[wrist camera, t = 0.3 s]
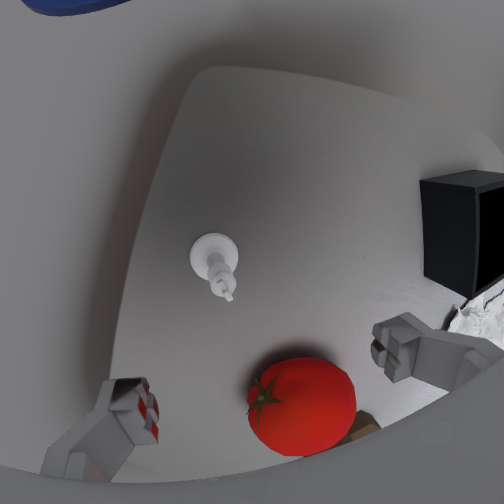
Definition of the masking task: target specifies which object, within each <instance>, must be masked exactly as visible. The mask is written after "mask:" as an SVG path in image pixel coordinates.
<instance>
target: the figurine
mask: <svg viewBox="0 0 504 504" xmlns="http://www.w3.org/2000/svg"><path fill="white" fill-rule="evenodd" d="M485 292H486V291H485ZM485 292H483V293H482V294H480V295H479V296H477V297H476V298H474V299H473V300H470V301H469V303H467V304H466V306H465V307H464V308H463V310H460V308H459V306H458V312H457V313H456V315H455V317H454V318H453V320H452V322H451V323H450V326H449V328H448V329H447V330H446V331H449V332H454V333H459V334H464V335H469V336H475V337H480V338H486V339H488V340H489V341H491V342H492V343H494V344H495V345H496V346H498V347H499V348H501V349H502V350H504V305H503V303H504V291H503V293H502V295H500V296H497V298H496V297H495V298H494V300H492V301H490V302H488V304H487V306H486V308H485V310H484V308H483V297H484V294H485ZM502 305H503V306H502Z"/></svg>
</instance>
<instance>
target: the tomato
mask: <svg viewBox="0 0 504 504" xmlns="http://www.w3.org/2000/svg"><path fill="white" fill-rule="evenodd" d="M253 378H254V381H255V383H256V386H254V387H252V388H250V389H249V392H248V398H247V402H248V404H249V410H250V411H249V410H248V412H249V415H248V420H249V423H250V427H251V428H252V430H253V432H254V433H255V434H256V436H257V437H258V438H259V440H260V441H262V442H263V443H264V444H265V445H266V446H268V447H269V448H270V449H271V450H273V451H276V452H278V453H280V454H282V455H284V456H308V455H312V454H314V453H317V452H320V451H323V450H325V449H328V448H331V447H332V446H334V445H335V444H336V443H337V442H338V441H340V440H341V439H342V438H343V437H344V436H345V435H346V433H347V432H348V430H349V429H350V427H351V425H352V424H353V421H354V418H355V415H356V397H355V390H354V386H353V384H352V382H351V380H350V378H349V376H348V375H347V373H346V372H344V371H343V370H341V369H340V368H339V367H337V366H336V365H334V364H333V363H331V362H329V361H325V360H321V359H317V358H312V357H301V358H291V359H288V360H285V361H282V362H279V363H275V364H272V365H271V366H270V367H269V368H268V369H267V370H266V371H265V372H264V373H263V374H262V375H261V380H260V383H259V382H258V380H257V379H256V378H255V377H254V376H253ZM247 414H248V413H247ZM247 414H246V415H247Z"/></svg>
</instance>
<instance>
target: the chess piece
mask: <svg viewBox="0 0 504 504" xmlns="http://www.w3.org/2000/svg"><path fill="white" fill-rule="evenodd" d="M190 263H191V266H192V268H193V269H194V271H195V272H196V274H197V275H199V276H200V277H201V278H203V279H205V280H209V282H210V288H211V290H212V292H213V293H214V294H215V295H217V296H220V297H225V299H227V301H228V302H230V301H232V300H234V299H233V297H232V295H231V294H232V293H233V292H234V290H235V288H236V279H235V277H234V276H233V272H234V270H235V268H236V266H237V264H238V250H237V247H236V245H235V243H234V242H233V241H232V240H231V239H230V238H229V237H228V236H226V235H224V234H220V233H209V234H205V235H203V236H201V237H200V238H199V239H197V240H196V242H195V243H194V244H193V246H192V248H191V251H190Z"/></svg>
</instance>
